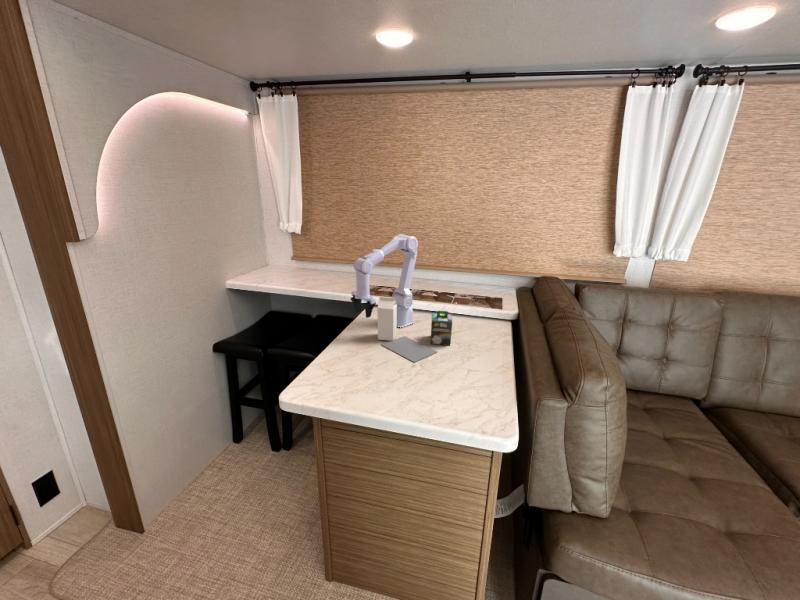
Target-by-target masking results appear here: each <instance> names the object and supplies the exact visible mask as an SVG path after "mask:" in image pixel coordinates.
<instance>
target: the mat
mask: <svg viewBox="0 0 800 600" xmlns="http://www.w3.org/2000/svg"><path fill="white" fill-rule="evenodd" d="M381 347H383V348H386V349H388V350H390V351H391V352H393V353H395V354H396V355H399V356H401V357H402V358H404V359H405V360H408V361H410V362H411V363H414V364H415V363H417V362H420V361H421V360H425V359H427V358H429V357H431V356H433V355H435V354H437V352H438V351H437V350H435V349H432V348H430V347H429V346H426V345H425V344H422V343H420V342H418V341H417V340H416V341H415V340H414V339H412V338H409V337H408V336H405V335H403V336H401V337H397V338H396V339H395V338H394V340H393V341H387V342H385V343H382V344H381Z"/></svg>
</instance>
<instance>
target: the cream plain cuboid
mask: <svg viewBox="0 0 800 600" xmlns="http://www.w3.org/2000/svg"><path fill="white" fill-rule="evenodd" d="M378 299H379V300H378V304H377V340H382V341H388V342H390V341H393V340H395V338H396V337H397V332H398V331H397V330H398V329H397V328H398V327H397V304H396V301H395V298H391V297H388V296H387V297H385V296H379V298H378Z"/></svg>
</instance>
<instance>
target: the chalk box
mask: <svg viewBox="0 0 800 600" xmlns="http://www.w3.org/2000/svg"><path fill="white" fill-rule="evenodd" d="M430 327H431V328H430V341H429V342H430V344H431V345H440V344H446V345H445V346H451V345H450V344H452V341H451V340H452V334H453V333H452V331H453V315H452V314H450V313H449V311H448V310H437V312H436V313H432V314H431V324H430Z"/></svg>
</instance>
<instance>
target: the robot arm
mask: <svg viewBox="0 0 800 600" xmlns="http://www.w3.org/2000/svg"><path fill="white" fill-rule="evenodd" d="M418 246H419V241H418V239H417V238H416V237H415V236H411V235H406V234H401V233H399V234H397V235H396V236H394V237H393V239H392V240H391V241H389V242H388V243H386V244H385V245H384V246H383V247H381V248H380V249H377V248H376V249H371V252H369V253H367V254H366V255H363V257H359V258H357V259H356V260H355V261H354V264H353V269H354V270H355V275H356V279H355V281H356V286H355V287H356V288H355V289H356V290H353V291H351V292H350V293H351V296H352V297H350V301H351V302H352V305H353V307H354V311H355V313H356V314H357V313H360V312H361V307H362V305H363V307H364V310H365V311H364V312H365V313H364V314H365V318H371V316H372V312H373V310H374V308H375V306H376V304H377V303H376V298H374V297H373V296H372V295H370V278H371V277H370V276H371V275H370V273H371V272H372V270H373V268H374V267H375V266H377V265H378V264H379V263H381V262H382V261H383V260H384V257H385V256H387V255H389V254H390V253H392V252H394V251H395V250H398V249H400V251H402V253H403V254H404V260H403V264H402V268H401V274H400V278H399V282H398V287H397V288H396V287H395V289H394V291H393V293H392V295H391V297H390V298H395V301H396V304H397V328H399V327H400V328H399V329H401V327H402V328H405V327H407V325H408V326H411V325H413V324H412V322H413V320H414V319H413V318H414V310H413V309H414V308H413V307H412V305H413V293H412V290H410V288H411V284H412V279H413V276H414V275H413V274H414V271H415V265H416V262H417V257H418ZM362 301H364V302H363V303H362ZM413 323H414V322H413ZM410 324H411V325H410ZM404 326H405V327H404Z"/></svg>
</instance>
